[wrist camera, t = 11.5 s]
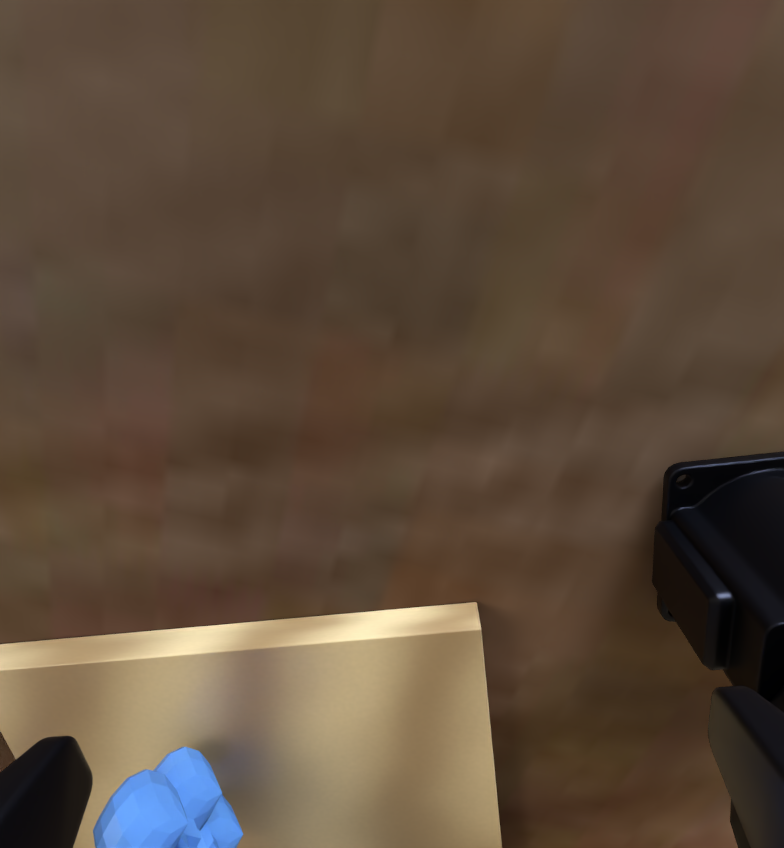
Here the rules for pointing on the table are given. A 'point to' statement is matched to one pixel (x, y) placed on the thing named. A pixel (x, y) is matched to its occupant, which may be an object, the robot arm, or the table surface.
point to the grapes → (169, 808)
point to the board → (283, 722)
